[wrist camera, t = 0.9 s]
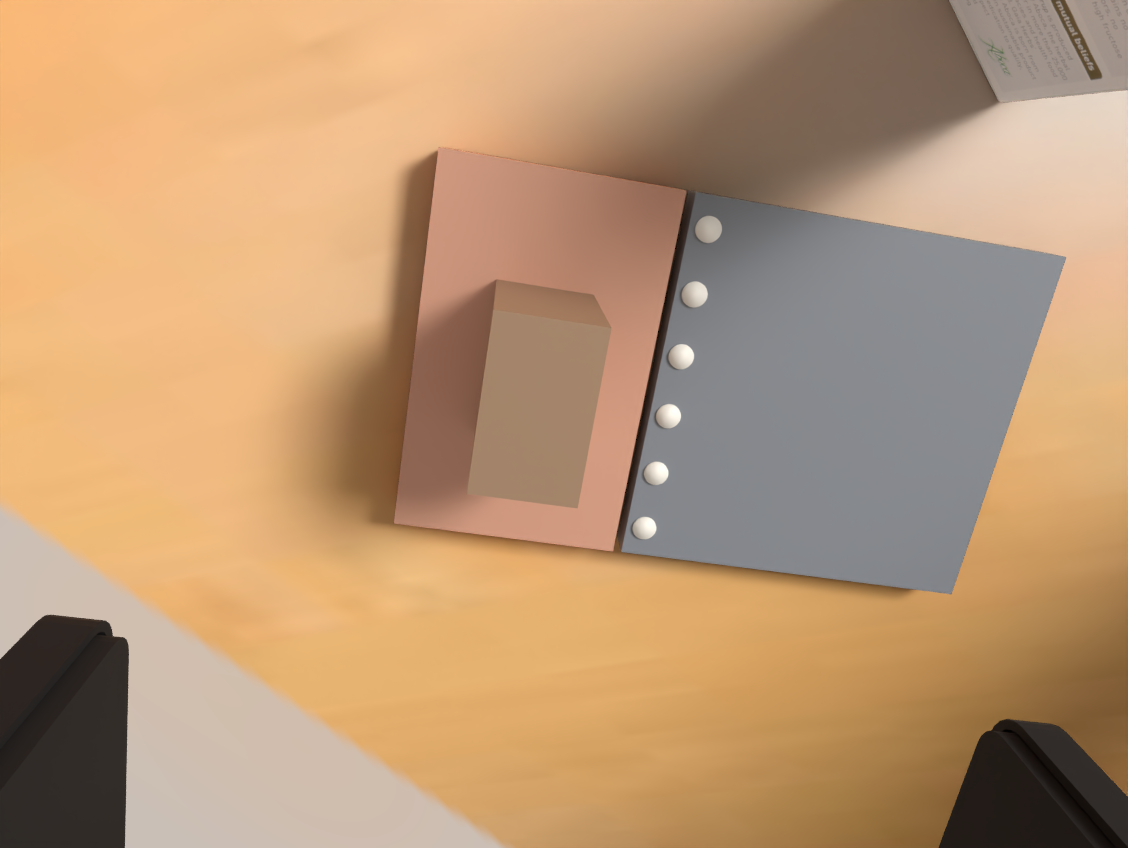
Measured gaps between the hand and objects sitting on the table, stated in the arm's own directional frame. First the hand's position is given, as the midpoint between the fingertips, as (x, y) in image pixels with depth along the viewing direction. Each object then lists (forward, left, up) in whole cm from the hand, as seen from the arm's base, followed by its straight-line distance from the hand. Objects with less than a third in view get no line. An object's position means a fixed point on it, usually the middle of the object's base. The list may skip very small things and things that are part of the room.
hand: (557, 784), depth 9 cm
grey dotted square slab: (-10, 0, -20) cm, 22 cm away
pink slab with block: (0, 0, -20) cm, 20 cm away
